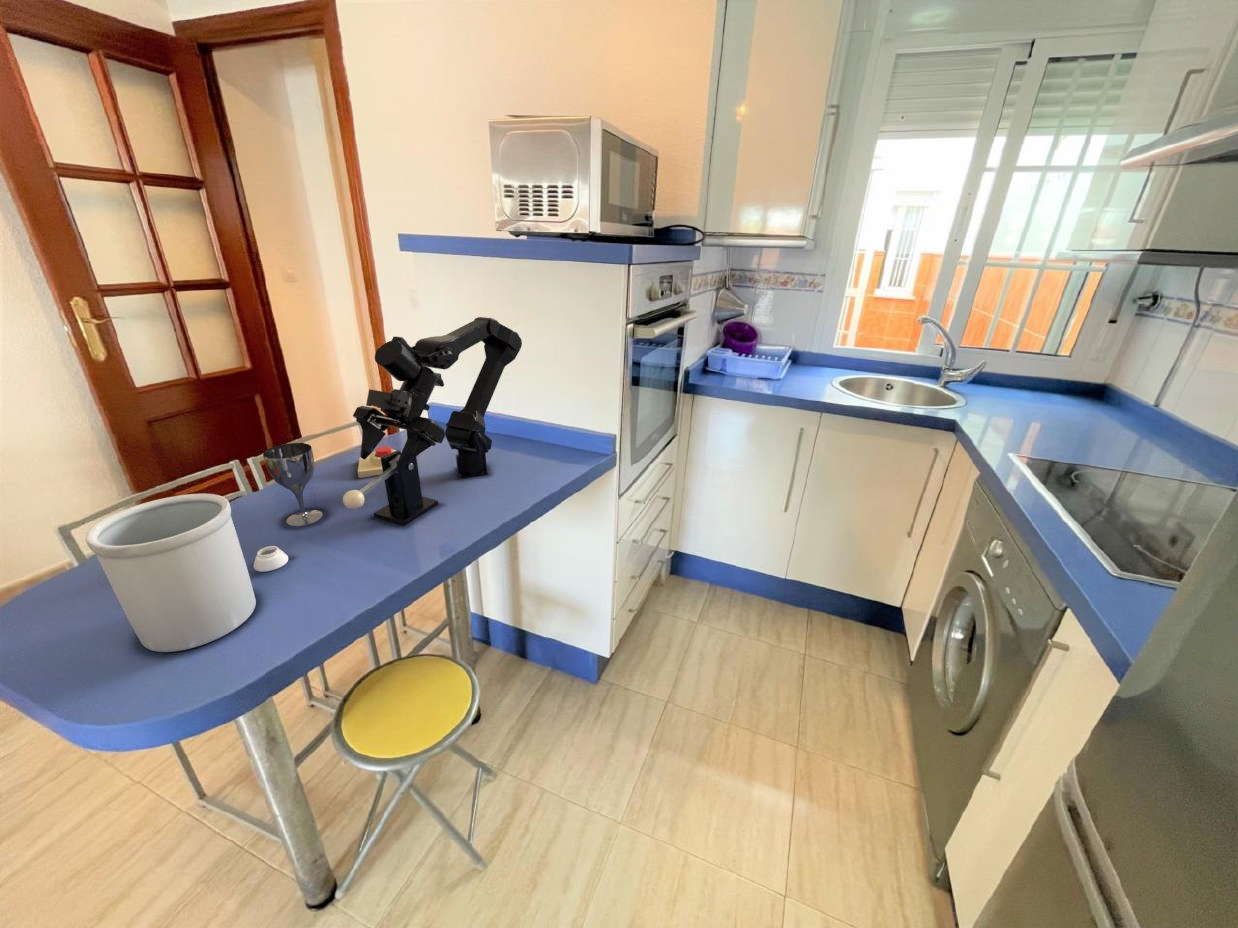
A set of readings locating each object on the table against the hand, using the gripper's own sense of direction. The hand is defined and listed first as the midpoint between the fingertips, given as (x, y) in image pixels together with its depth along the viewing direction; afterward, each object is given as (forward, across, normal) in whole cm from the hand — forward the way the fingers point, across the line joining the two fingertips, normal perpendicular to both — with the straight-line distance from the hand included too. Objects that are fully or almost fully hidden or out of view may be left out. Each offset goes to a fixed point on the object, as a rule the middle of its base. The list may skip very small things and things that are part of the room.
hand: (380, 462), depth 97 cm
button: (-7, -21, +21) cm, 31 cm away
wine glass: (+14, -16, +5) cm, 22 cm away
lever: (+4, 0, +3) cm, 5 cm away
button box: (-5, -21, +23) cm, 32 cm away
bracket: (+6, 0, +12) cm, 14 cm away
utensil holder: (+33, -4, -14) cm, 36 cm away
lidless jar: (+24, -7, -5) cm, 25 cm away
